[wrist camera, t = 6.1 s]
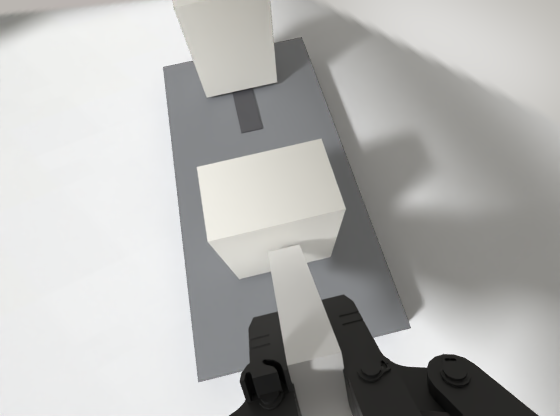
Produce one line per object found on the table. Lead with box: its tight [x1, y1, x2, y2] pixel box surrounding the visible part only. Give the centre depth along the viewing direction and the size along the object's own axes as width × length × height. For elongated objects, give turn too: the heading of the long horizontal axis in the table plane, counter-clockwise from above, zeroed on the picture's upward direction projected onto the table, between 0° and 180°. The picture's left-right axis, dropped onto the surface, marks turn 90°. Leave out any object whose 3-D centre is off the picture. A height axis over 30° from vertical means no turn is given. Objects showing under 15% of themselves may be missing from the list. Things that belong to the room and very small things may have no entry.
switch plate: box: [163, 37, 411, 382], centre depth 24 cm, size 27×12×2 cm, turn 13°
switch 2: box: [197, 139, 346, 279], centre depth 17 cm, size 4×6×7 cm, turn 103°
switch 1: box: [172, 0, 277, 98], centre depth 23 cm, size 4×6×7 cm, turn 103°
